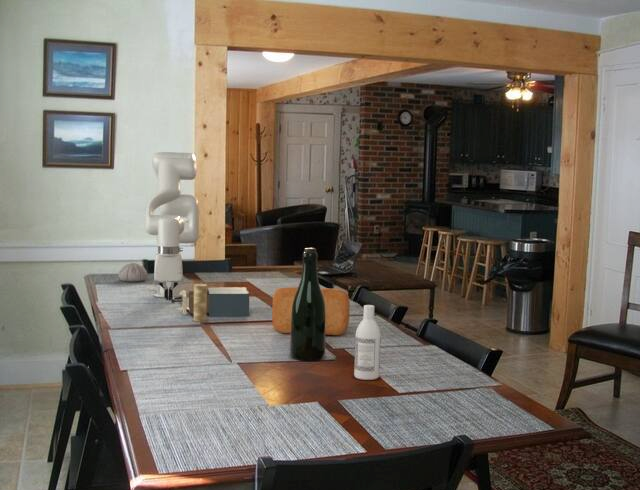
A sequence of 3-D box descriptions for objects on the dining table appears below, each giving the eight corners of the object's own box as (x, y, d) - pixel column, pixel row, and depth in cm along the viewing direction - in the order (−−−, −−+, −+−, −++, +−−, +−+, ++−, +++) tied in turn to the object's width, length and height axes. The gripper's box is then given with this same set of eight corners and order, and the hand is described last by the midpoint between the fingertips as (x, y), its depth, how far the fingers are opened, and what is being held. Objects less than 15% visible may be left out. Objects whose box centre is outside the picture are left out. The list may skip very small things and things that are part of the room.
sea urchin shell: (143, 283, 366) (143, 265, 365) (113, 282, 366) (113, 264, 365) (151, 278, 379) (151, 262, 378) (122, 277, 379) (122, 261, 378)
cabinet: (209, 316, 295) (209, 293, 294) (207, 309, 309) (207, 287, 308) (249, 316, 299) (249, 293, 298) (245, 308, 313) (245, 287, 312)
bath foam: (365, 372, 225) (367, 302, 222) (384, 377, 221) (387, 306, 218) (348, 377, 220) (351, 305, 217) (368, 382, 215) (370, 309, 213)
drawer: (171, 314, 292) (171, 296, 291) (170, 307, 305) (170, 290, 304) (220, 313, 297) (220, 295, 296) (217, 307, 310) (217, 289, 309)
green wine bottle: (310, 363, 233) (313, 250, 228) (282, 357, 239) (285, 247, 234) (331, 356, 242) (335, 248, 237) (304, 351, 247) (307, 245, 243)
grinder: (193, 322, 285) (194, 286, 283) (193, 319, 290) (193, 283, 288) (206, 321, 286) (207, 285, 284) (206, 319, 291) (206, 283, 289)
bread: (348, 290, 266) (354, 286, 284) (271, 287, 269) (281, 283, 286) (347, 336, 267) (353, 330, 285) (270, 333, 270) (280, 326, 287)
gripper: (188, 249, 301) (188, 298, 303) (147, 249, 297) (147, 298, 300) (189, 252, 294) (189, 301, 296) (147, 251, 290) (147, 301, 292)
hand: (168, 299), depth 298 cm, fingers closed
